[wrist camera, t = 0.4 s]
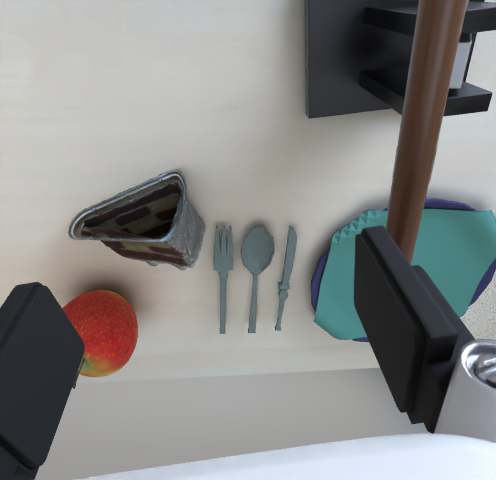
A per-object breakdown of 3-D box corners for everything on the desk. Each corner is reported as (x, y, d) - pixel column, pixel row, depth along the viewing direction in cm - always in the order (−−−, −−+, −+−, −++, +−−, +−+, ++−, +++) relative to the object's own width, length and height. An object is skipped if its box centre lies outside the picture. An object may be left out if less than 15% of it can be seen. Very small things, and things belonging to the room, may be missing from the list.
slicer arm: (355, 274, 12) (431, 291, 12) (381, -1, 8) (513, -13, 7) (409, 123, 24) (450, 125, 23) (434, -27, 19) (486, -33, 18)
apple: (160, 298, 40) (145, 379, 31) (117, 335, 43) (93, 417, 34) (94, 259, 36) (58, 339, 28) (53, 302, 39) (9, 386, 31)
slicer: (305, 114, 29) (339, 162, 21) (305, -23, 24) (348, -28, 16) (453, 96, 29) (542, 138, 21) (484, -45, 24) (619, -61, 16)
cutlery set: (448, 329, 46) (458, 343, 44) (214, 334, 44) (214, 350, 42) (524, 191, 35) (541, 202, 33) (213, 187, 32) (212, 199, 30)
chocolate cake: (111, 269, 37) (188, 318, 30) (58, 232, 32) (138, 281, 25) (166, 200, 40) (248, 230, 33) (127, 154, 35) (215, 180, 28)
